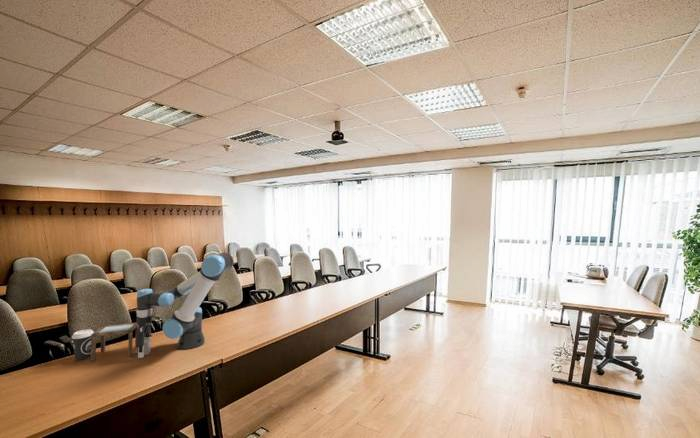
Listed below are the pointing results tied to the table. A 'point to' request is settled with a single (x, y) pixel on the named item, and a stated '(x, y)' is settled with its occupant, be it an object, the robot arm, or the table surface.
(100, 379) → the table surface
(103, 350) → the hatch frame
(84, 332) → the coffee cup
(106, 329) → the hatch
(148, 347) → the stone
